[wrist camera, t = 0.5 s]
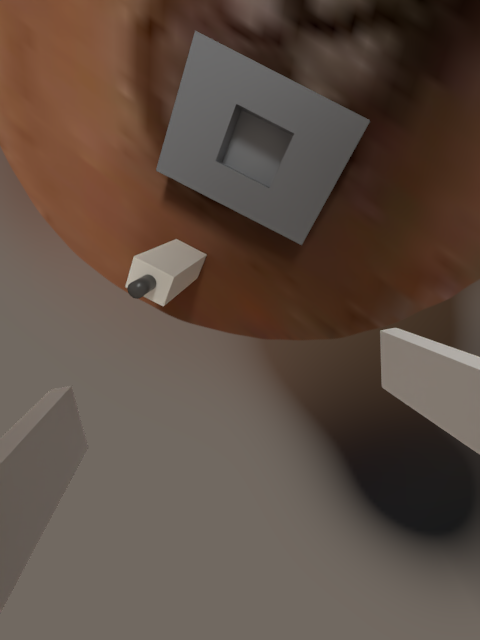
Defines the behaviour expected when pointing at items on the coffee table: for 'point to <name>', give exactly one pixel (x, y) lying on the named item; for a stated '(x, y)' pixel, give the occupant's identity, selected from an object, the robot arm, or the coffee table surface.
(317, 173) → the socket panel
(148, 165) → the coffee table surface
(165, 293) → the plug
